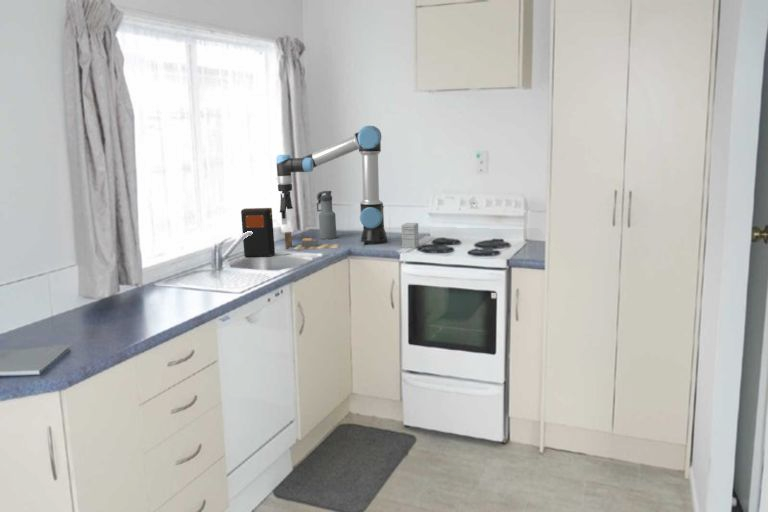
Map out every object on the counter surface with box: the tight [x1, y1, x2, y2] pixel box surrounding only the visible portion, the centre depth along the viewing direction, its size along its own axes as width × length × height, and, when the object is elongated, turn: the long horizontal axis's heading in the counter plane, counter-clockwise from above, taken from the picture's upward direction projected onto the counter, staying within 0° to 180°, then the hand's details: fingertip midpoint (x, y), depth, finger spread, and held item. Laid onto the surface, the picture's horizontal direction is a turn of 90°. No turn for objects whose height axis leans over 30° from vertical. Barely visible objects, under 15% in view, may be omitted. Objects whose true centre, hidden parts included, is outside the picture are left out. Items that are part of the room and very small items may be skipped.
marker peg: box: [284, 232, 293, 250], centre depth 378 cm, size 3×3×9 cm
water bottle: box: [316, 190, 337, 240], centre depth 406 cm, size 10×10×28 cm
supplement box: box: [401, 222, 420, 249], centre depth 369 cm, size 7×7×13 cm
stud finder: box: [301, 237, 319, 247], centre depth 378 cm, size 8×4×4 cm, turn 86°
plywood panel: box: [293, 243, 341, 250], centre depth 375 cm, size 24×12×1 cm, turn 86°
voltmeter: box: [240, 207, 276, 258], centre depth 359 cm, size 16×9×25 cm, turn 84°
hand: (287, 222), depth 376 cm, fingers open, 13 cm apart
